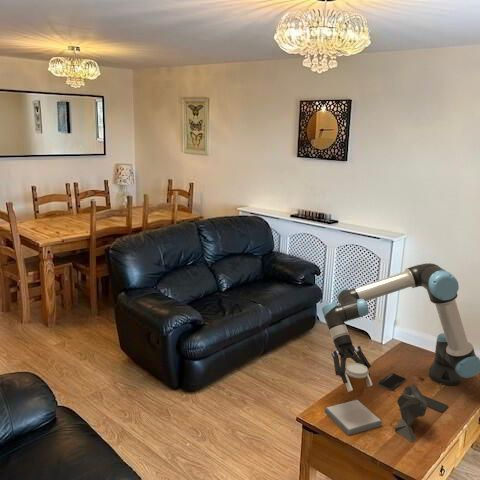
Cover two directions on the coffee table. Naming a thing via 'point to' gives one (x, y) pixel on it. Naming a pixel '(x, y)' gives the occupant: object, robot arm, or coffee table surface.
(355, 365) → the disposable coffee cup
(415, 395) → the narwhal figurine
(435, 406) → the phone
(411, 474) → the coffee table surface
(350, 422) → the plate
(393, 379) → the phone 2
